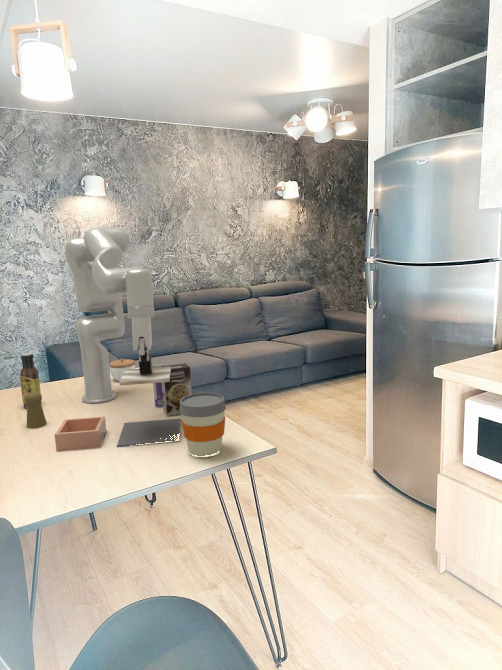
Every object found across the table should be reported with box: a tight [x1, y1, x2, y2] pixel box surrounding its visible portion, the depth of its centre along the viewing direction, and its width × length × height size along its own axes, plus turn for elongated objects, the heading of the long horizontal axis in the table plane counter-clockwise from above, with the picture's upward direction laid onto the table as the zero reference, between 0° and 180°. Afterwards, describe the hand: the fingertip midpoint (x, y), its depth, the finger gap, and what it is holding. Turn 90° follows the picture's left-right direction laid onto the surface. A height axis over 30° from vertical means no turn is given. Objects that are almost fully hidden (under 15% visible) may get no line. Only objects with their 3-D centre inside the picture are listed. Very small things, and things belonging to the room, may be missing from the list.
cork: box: [24, 392, 47, 429], centre depth 159 cm, size 6×6×11 cm
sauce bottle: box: [19, 352, 42, 409], centre depth 177 cm, size 6×6×20 cm
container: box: [152, 362, 166, 409], centre depth 173 cm, size 5×5×15 cm
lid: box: [118, 352, 171, 386], centre depth 146 cm, size 14×14×7 cm
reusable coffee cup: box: [180, 392, 227, 456], centre depth 134 cm, size 13×13×15 cm
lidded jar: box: [109, 358, 136, 382], centre depth 209 cm, size 11×11×9 cm
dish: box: [54, 415, 107, 452], centre depth 145 cm, size 12×12×5 cm
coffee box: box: [161, 363, 193, 417], centre depth 166 cm, size 9×6×16 cm
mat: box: [116, 417, 182, 448], centre depth 150 cm, size 18×18×1 cm
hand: (146, 371), depth 146 cm, fingers closed on lid, 3 cm apart
